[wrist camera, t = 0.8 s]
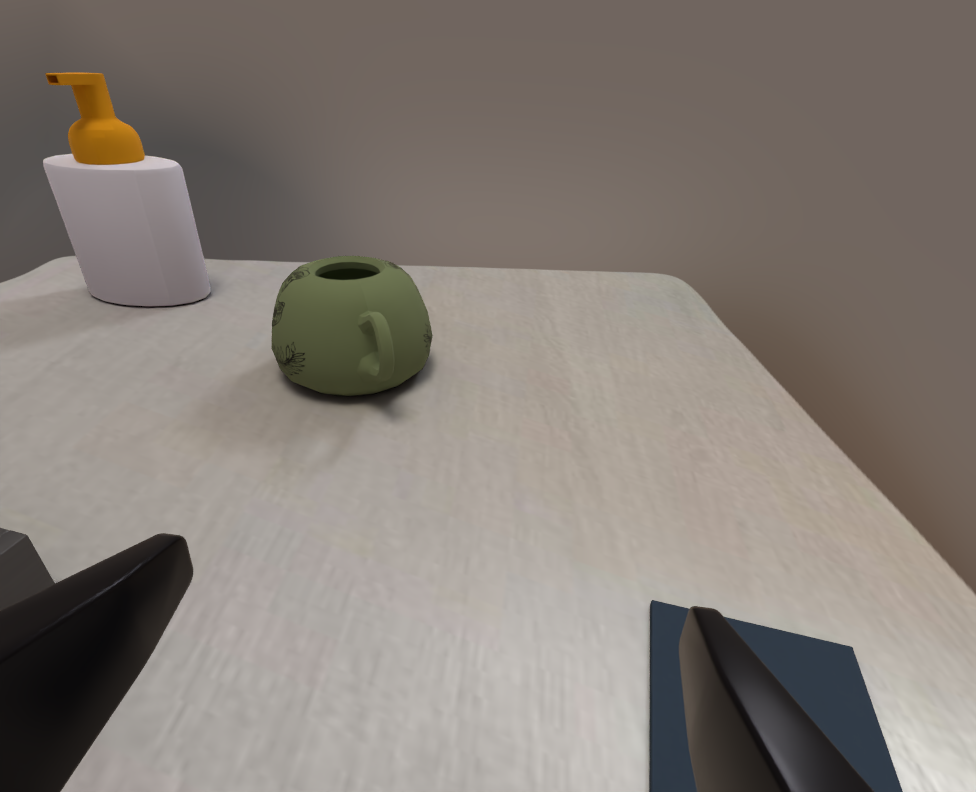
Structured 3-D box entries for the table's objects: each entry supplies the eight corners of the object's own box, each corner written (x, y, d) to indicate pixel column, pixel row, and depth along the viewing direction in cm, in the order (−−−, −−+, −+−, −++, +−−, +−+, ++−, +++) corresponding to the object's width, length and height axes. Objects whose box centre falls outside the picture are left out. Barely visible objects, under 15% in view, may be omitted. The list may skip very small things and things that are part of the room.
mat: (999, 1092, 14) (1007, 1090, 14) (648, 965, 16) (651, 961, 16) (849, 651, 25) (852, 646, 25) (649, 604, 27) (651, 599, 26)
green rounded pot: (266, 347, 48) (247, 251, 44) (403, 325, 54) (399, 237, 49) (300, 446, 36) (279, 328, 32) (473, 405, 42) (476, 299, 37)
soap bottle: (65, 299, 55) (-25, 69, 45) (125, 274, 62) (59, 69, 52) (181, 314, 54) (116, 77, 43) (230, 286, 61) (184, 76, 50)
